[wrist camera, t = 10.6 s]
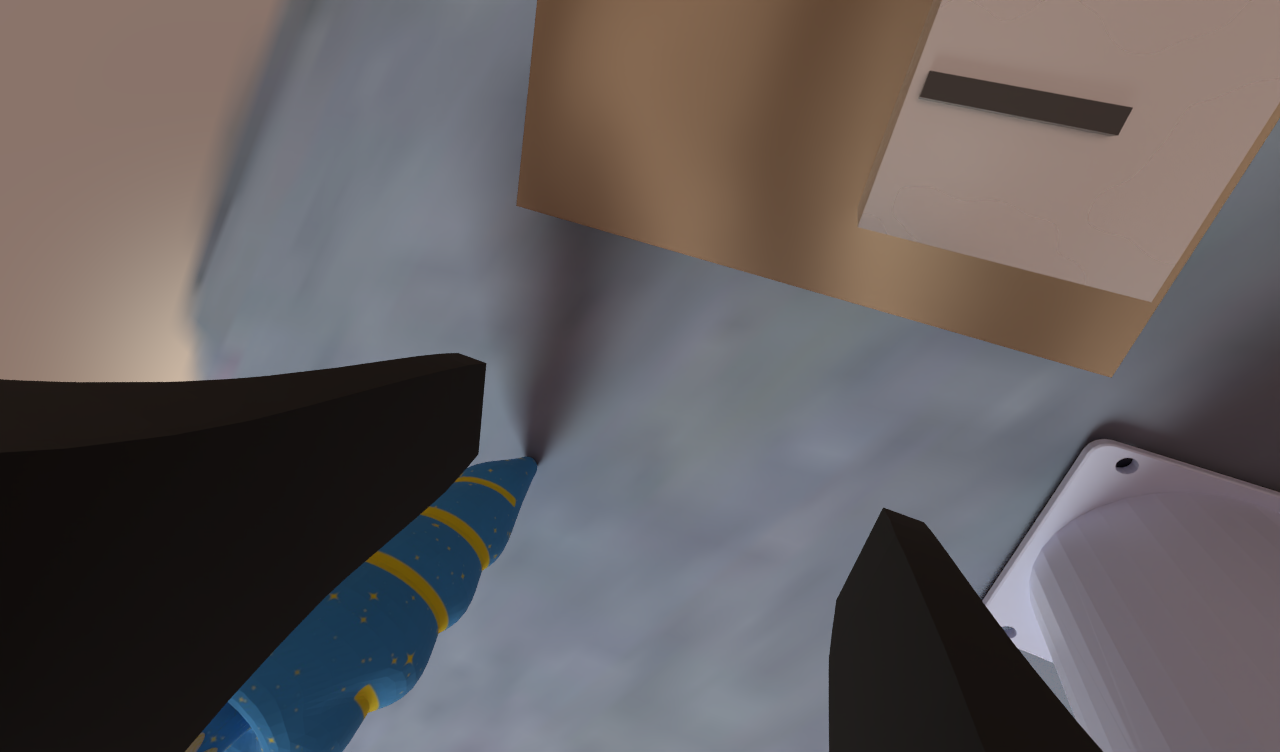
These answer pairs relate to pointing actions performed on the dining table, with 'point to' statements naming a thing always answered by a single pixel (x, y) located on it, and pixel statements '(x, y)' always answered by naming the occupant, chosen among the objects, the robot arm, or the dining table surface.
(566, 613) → the dining table surface
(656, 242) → the board
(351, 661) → the ornament
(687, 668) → the dining table surface
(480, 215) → the dining table surface
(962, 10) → the beige cube
